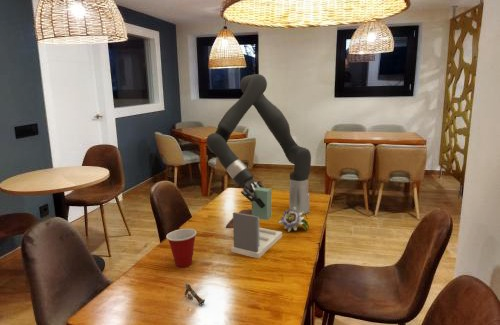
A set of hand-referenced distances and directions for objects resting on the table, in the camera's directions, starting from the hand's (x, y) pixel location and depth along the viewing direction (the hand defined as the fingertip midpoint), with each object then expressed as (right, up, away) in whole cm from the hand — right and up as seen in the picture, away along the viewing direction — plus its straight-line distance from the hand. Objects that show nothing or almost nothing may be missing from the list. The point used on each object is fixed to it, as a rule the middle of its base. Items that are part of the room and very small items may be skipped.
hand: (265, 205), depth 146 cm
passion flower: (+13, -13, +16) cm, 24 cm away
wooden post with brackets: (-24, -25, -37) cm, 50 cm away
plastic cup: (-31, -20, -14) cm, 39 cm away
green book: (-2, -5, +2) cm, 6 cm away
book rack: (-3, -16, +1) cm, 16 cm away
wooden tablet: (-10, -11, +28) cm, 32 cm away
